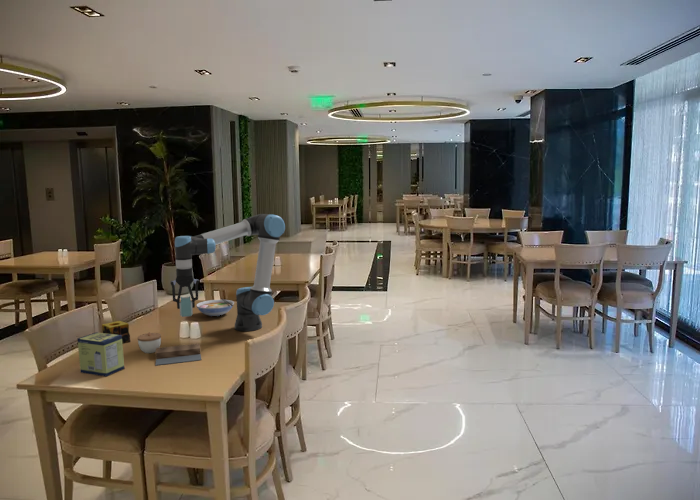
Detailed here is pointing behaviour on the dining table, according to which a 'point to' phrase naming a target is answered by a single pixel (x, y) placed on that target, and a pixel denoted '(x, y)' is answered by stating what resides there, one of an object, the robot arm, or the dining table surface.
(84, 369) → the protein box
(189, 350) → the ledge
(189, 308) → the block
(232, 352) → the dining table surface
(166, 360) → the mat
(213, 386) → the dining table surface
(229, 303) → the ramen bowl
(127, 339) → the black yellow box
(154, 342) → the lidded jar
